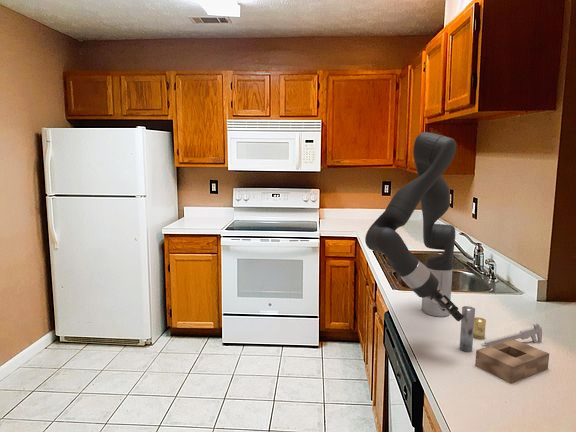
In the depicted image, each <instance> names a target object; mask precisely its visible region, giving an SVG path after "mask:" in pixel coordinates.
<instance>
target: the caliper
mask: <svg viewBox="0 0 576 432" xmlns="http://www.w3.org/2000/svg"><path fill="white" fill-rule="evenodd" d="M532 325H533V327H529V328H526V329H522V330H520V331H519V332H515V333H512V334H508V335H505V336H500V337H497V338H492V339H490V340H485V341H484V343H481V344H480V346H481V347H482V348H484V347H487V346H490V345H494V344H497V343H500V342H503V341H506V340H509V339H515V340H519V339H521V340H522V341H524V340H527V339H531V340H532V342H533V343H537V342H538V343H539V342H540V343H541V342H542V341H543V331H542V330H543V329H542V326H540V324H539V323H537V322H536V323H535V324H532Z"/></svg>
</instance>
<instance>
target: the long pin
mask: <svg viewBox="0 0 576 432" xmlns="http://www.w3.org/2000/svg"><path fill="white" fill-rule="evenodd" d="M461 314H462V315H463V318H462V319H461V320H460V322H461V323H460V335H459V347H458V348H459V350H460V351H462V352H465V353H471V352H473V345H474V344H473V343H474V338H473V333H474V319H475V318H476V316H475V315H476V308H475V307H473V306H469V305H463V306H462V307H461Z"/></svg>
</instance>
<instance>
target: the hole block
mask: <svg viewBox="0 0 576 432" xmlns="http://www.w3.org/2000/svg"><path fill="white" fill-rule="evenodd" d="M474 360H475V363H474V366H476V367H478V368H480V369H481V370H484V371H486V372H487V373H490V374H492V375H493V376H496V377H498V378H500V379H502V380H504V381H506V382H508V383H510V384H514V383H516V382H519V381H521V380H524V379H527V378H528V377H531V376H534V375H537V374H538V373H541V372H543V371H547V370H548V369H549V362H550V353H549V352H547V351H544V350H541V349H539V348H537V347H534V346H531V345H529V344H527V343H524V342H522V341H519V340H518V339H509V340H506V341H503V342H500V343H497V344H494V345H490V346H484V347H482V348H481V347H480V348H479V349H476V350H475V359H474Z"/></svg>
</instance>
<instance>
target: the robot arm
mask: <svg viewBox="0 0 576 432" xmlns="http://www.w3.org/2000/svg"><path fill="white" fill-rule="evenodd" d="M456 152H457V142H456V140H455V139H454V138H452V137H449V136H445V135H441V134H438V133H434V132H428V131H423V132H420V133H419V134H418V135H417V136H416V138H415V140H414V143H413V150H412V153H413V160H414V165H415V168H416V172H417V177H416V178H415V179H413V180H411V181H409V182H408V183H407V184H405V185H403V186H402V187H400V188H399V189H397V191H396V192H395V194H394V195H393V196H392V197H391V199H390V202H389V203H388V205H387V206H386V207H385V210H384V211H383V212H382V213H381V214H380V215H379V217H377V219H376V220H375V221H374V222H373V223H372V224H371V226H370V227H369V228H368V230H367V231H366V233H365V236H364V237H365V239H364V241H365V245H366V247H367V248H368V249H370V250H371V251H373V252H377V253H382V254H383V255H385V256H386V258H387V261H388V262H387V263H388V264H389V266H390V267H391V269H393V271H394V272H395V273H396V274H397V275H398V276H399V277H400V278H401V279H402V281H403V282H404V283H405V284H406V285H407V286H408V287H409V288H410V289H411V291H413V293H415V295H417V296H418V297H419V298H421V310H422V311H423V312H424V313H425V314H426V315H430V316H432V317H442V318H443V317H447V316H449V315H450V316H451V317H453V318H454V320H455V321H457V322H461V319H462V318H463V315H462V312H460V311H459V307H458V306H456V304H455V303H454V302H453V301H452V300H451V298H452V297H451V296H452V284H453V283H452V282H453V266H454V265H453V264H454V251H455V249H454V248H455V242H456V228H455V225H452V224H440V223H436V222H437V221H438V220H439V219H440V218H441V217H443V216H444V215H445V214H446V212H447V211H448V209H449V208H450V204H451V192H450V188H449V185H448V184H447V182H446V180H445V179H444V178H443V176H442V175H443V173H444V172H445V171H446V169H448V167H449V166H450V164H451V163H452V161H453V159H454V157H455V155H456ZM419 204H420V205H421V213H422V237H423V238H422V239H423V243H424V246H425V248H427V249H432V250H442V251H444V252H442V253H441V254H439V255H435V256H432V257H429V258H428V257H427V258H426V262H425V264H424V263H423V262H421V261H420V260H419V259H418V258H417V257H416V256H415V255H414V254H413V252H411V251H410V250H409V248H408V246H407V244H406V243H405V241H404V239H403V238H402V237H401V235H400V234H399V233H398V232H397V231H396V230H397V229H398V228H401V227H404V226H405V225H406V224H407V223H408V221H409V220H410V218H411V216H412V214H413V213H414V211H415V210H416V208H417V206H418V205H419Z"/></svg>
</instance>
